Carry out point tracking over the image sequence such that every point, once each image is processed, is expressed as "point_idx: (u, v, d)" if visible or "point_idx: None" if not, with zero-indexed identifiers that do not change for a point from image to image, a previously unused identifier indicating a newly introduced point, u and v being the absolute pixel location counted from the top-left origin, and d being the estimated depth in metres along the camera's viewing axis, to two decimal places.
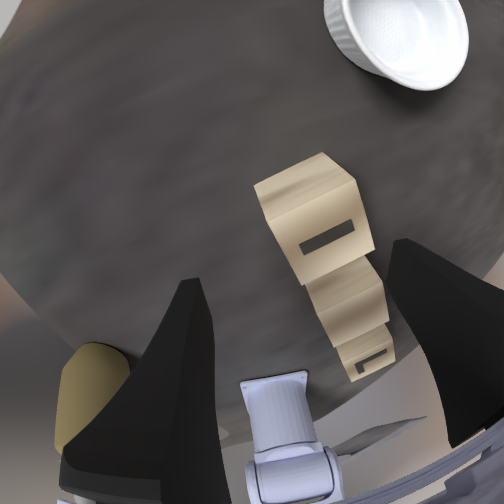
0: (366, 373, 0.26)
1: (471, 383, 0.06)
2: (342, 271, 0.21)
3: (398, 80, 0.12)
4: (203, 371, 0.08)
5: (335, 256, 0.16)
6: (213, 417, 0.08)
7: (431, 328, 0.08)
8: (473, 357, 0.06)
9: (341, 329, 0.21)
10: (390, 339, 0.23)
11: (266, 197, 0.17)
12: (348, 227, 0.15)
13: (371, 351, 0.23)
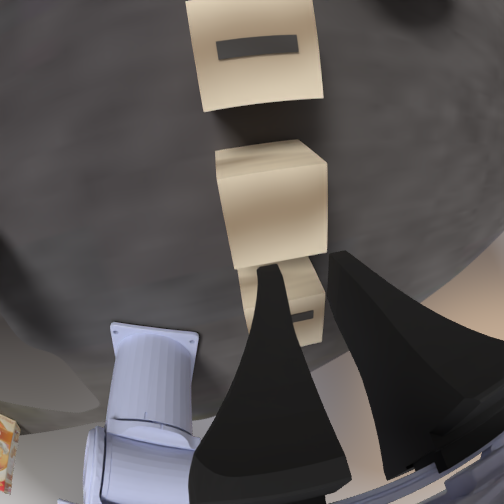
0: None
1: (398, 419, 0.06)
2: (272, 153, 0.15)
3: None
4: None
5: (263, 80, 0.10)
6: None
7: (364, 351, 0.08)
8: (399, 392, 0.06)
9: (251, 233, 0.14)
10: (322, 294, 0.17)
11: None
12: (289, 44, 0.09)
13: (290, 305, 0.17)
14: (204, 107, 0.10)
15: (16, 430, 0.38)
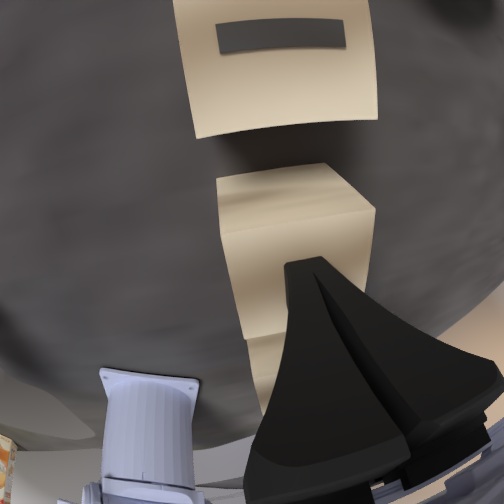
0: None
1: None
2: (295, 186, 0.11)
3: None
4: None
5: (291, 88, 0.06)
6: None
7: None
8: None
9: (268, 300, 0.10)
10: None
11: None
12: (332, 34, 0.06)
13: None
14: (197, 131, 0.07)
15: (13, 448, 0.34)
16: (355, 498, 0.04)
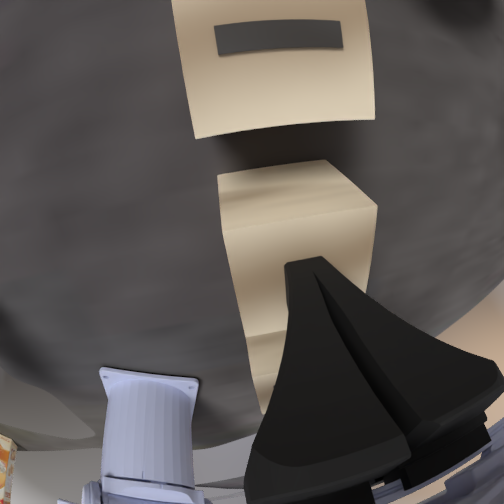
0: None
1: None
2: (296, 183, 0.11)
3: None
4: None
5: (289, 89, 0.06)
6: None
7: None
8: None
9: (269, 297, 0.10)
10: None
11: None
12: (329, 35, 0.06)
13: None
14: (196, 131, 0.07)
15: (13, 448, 0.34)
16: (356, 497, 0.04)
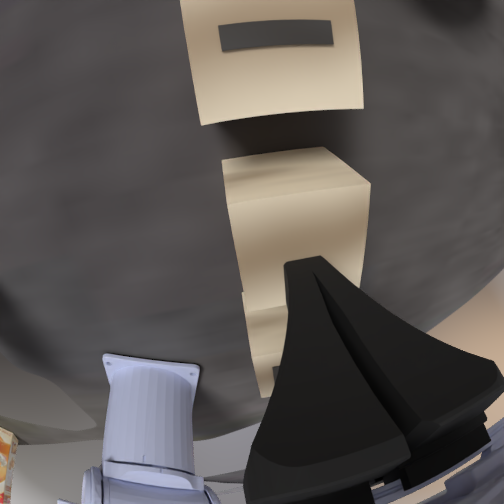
0: None
1: None
2: (296, 166, 0.11)
3: None
4: None
5: (285, 81, 0.07)
6: None
7: None
8: None
9: (270, 271, 0.11)
10: None
11: None
12: (321, 33, 0.06)
13: None
14: (202, 118, 0.08)
15: (14, 442, 0.35)
16: (356, 498, 0.04)
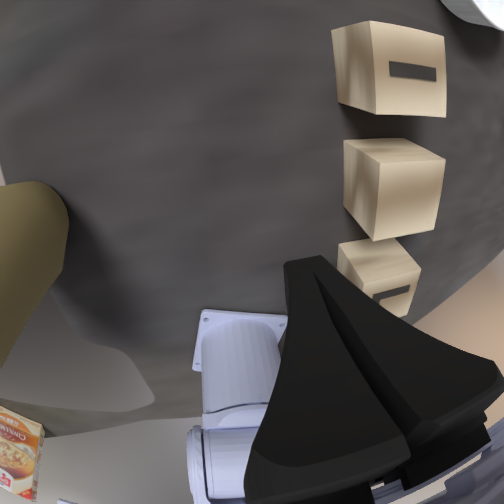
0: None
1: None
2: (398, 147, 0.16)
3: (475, 3, 0.08)
4: None
5: (414, 98, 0.12)
6: None
7: None
8: None
9: (392, 210, 0.16)
10: (418, 270, 0.19)
11: None
12: (431, 74, 0.11)
13: (396, 280, 0.19)
14: (377, 110, 0.12)
15: (41, 433, 0.40)
16: (356, 498, 0.04)
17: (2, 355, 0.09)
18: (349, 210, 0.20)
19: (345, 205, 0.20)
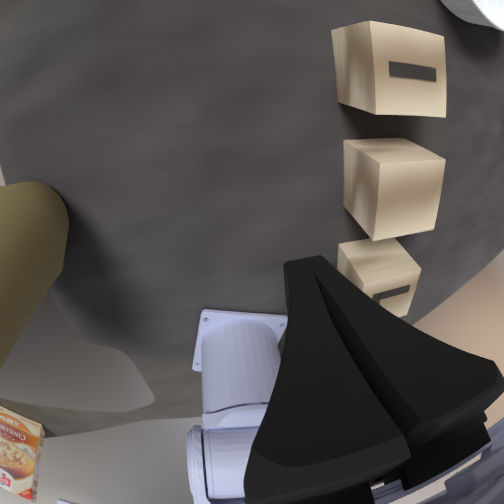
0: None
1: None
2: (398, 147, 0.16)
3: (475, 3, 0.08)
4: None
5: (414, 98, 0.12)
6: None
7: None
8: None
9: (392, 210, 0.16)
10: (418, 270, 0.19)
11: None
12: (431, 74, 0.11)
13: (396, 280, 0.19)
14: (376, 111, 0.12)
15: (41, 433, 0.40)
16: (356, 498, 0.04)
17: (2, 355, 0.09)
18: (349, 210, 0.20)
19: (345, 205, 0.20)
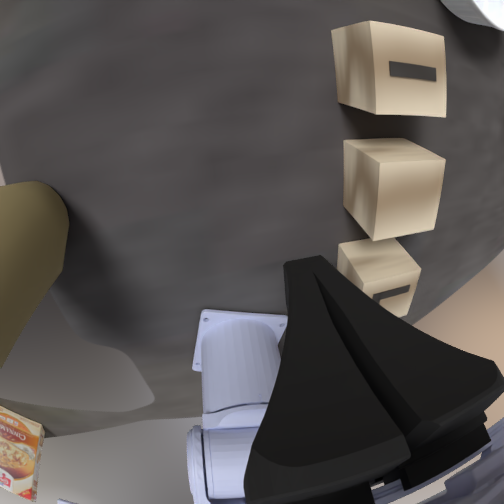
0: None
1: None
2: (398, 147, 0.16)
3: (475, 3, 0.08)
4: None
5: (414, 98, 0.12)
6: None
7: None
8: None
9: (392, 210, 0.16)
10: (418, 270, 0.19)
11: None
12: (431, 74, 0.11)
13: (396, 280, 0.19)
14: (377, 110, 0.12)
15: (41, 433, 0.40)
16: (356, 498, 0.04)
17: (2, 355, 0.09)
18: (349, 210, 0.20)
19: (345, 205, 0.20)
